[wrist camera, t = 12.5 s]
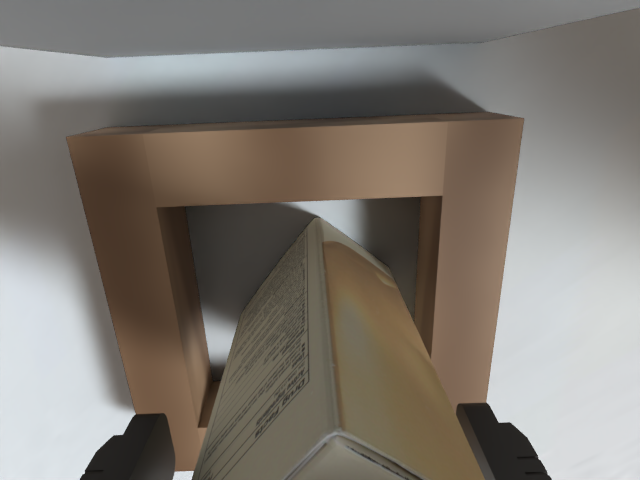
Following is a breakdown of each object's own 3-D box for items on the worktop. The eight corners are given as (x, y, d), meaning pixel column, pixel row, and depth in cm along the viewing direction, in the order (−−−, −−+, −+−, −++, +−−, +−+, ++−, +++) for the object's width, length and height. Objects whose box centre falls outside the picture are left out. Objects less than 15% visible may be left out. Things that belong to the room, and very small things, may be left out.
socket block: (487, 111, 16) (524, 118, 14) (457, 409, 22) (478, 458, 19) (108, 127, 16) (65, 137, 14) (171, 422, 22) (150, 472, 19)
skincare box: (311, 358, 21) (311, 707, 9) (237, 313, 20) (132, 639, 8) (396, 262, 19) (528, 546, 7) (319, 206, 18) (332, 436, 6)
